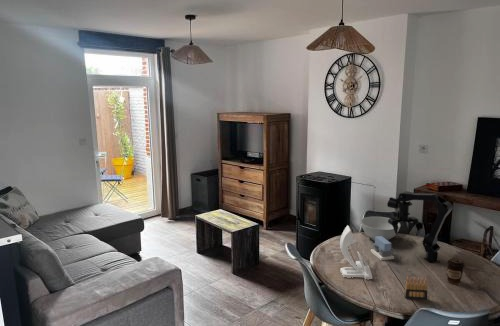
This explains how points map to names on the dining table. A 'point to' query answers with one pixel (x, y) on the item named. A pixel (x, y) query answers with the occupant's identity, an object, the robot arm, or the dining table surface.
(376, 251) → the white grey bracket mount
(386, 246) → the blue tapered block
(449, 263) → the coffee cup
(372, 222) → the decorative bowl
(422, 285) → the ammunition clip
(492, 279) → the dining table surface
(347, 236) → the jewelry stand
